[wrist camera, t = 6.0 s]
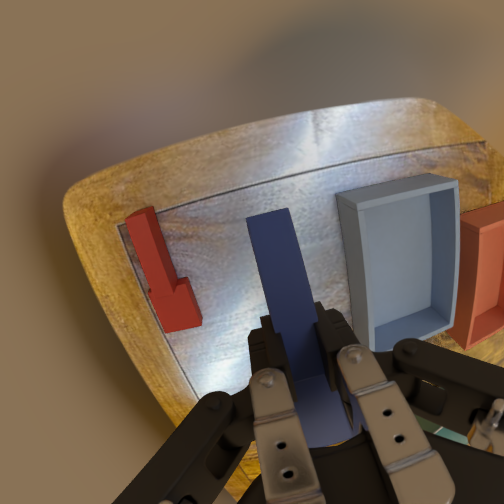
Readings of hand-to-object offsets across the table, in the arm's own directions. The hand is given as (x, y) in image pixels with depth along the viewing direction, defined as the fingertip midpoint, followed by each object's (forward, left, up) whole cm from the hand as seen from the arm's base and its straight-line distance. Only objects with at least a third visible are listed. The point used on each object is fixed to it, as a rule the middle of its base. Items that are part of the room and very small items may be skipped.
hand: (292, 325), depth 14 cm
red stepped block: (0, -9, -13) cm, 16 cm away
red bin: (+10, +25, -13) cm, 30 cm away
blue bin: (+5, +12, -13) cm, 18 cm away
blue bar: (+1, 0, 0) cm, 1 cm away
